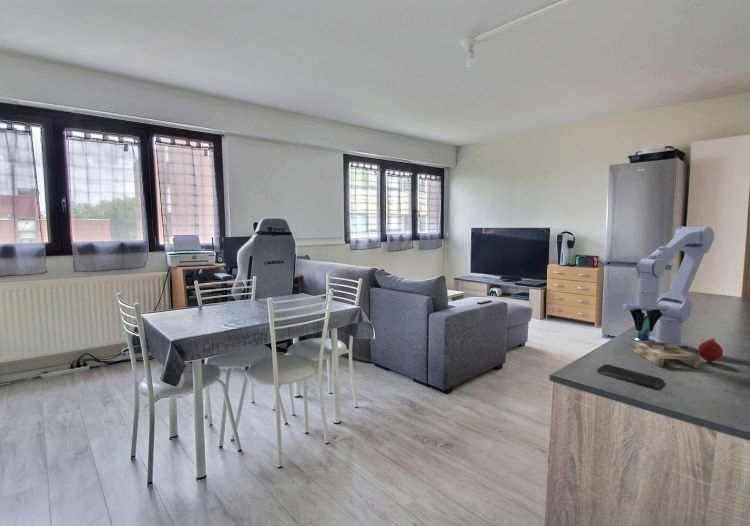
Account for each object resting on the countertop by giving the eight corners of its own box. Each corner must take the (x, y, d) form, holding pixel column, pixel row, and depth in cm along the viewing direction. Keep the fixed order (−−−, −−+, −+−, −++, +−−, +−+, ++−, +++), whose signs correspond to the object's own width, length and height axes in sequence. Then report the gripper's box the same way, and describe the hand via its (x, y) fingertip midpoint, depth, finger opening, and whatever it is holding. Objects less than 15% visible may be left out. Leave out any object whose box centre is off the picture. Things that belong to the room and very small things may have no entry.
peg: (628, 341, 141) (631, 314, 139) (645, 341, 140) (648, 314, 139) (638, 346, 135) (641, 318, 134) (656, 347, 134) (659, 319, 133)
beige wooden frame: (631, 350, 134) (632, 341, 133) (668, 352, 133) (669, 342, 132) (658, 366, 120) (659, 355, 119) (699, 367, 119) (700, 357, 118)
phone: (657, 387, 103) (596, 369, 114) (657, 391, 103) (595, 373, 114) (665, 379, 108) (605, 363, 119) (664, 383, 108) (605, 367, 119)
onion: (712, 366, 120) (715, 341, 120) (692, 359, 126) (695, 335, 125) (725, 364, 122) (728, 340, 121) (705, 358, 128) (708, 334, 127)
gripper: (661, 291, 139) (658, 328, 140) (619, 290, 140) (616, 326, 141) (675, 295, 132) (671, 333, 133) (631, 293, 133) (627, 332, 134)
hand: (643, 330), depth 137 cm, fingers closed on peg, 3 cm apart
